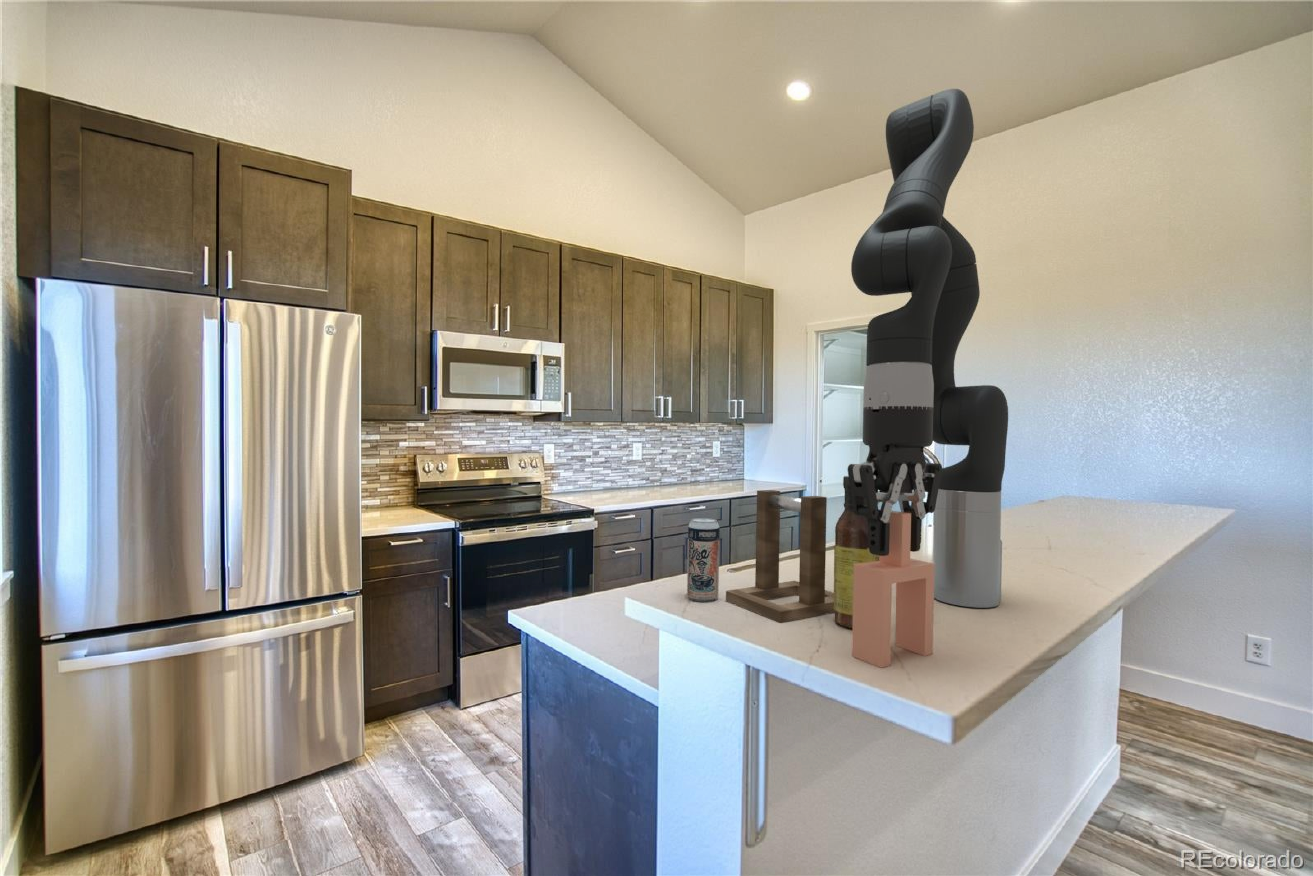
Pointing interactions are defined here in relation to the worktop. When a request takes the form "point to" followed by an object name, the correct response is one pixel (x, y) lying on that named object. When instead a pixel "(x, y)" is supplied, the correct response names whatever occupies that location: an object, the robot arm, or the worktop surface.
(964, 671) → the worktop surface
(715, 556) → the beer can
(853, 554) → the sauce bottle
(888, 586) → the orange arch with tab
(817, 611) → the brown wooden post stand
